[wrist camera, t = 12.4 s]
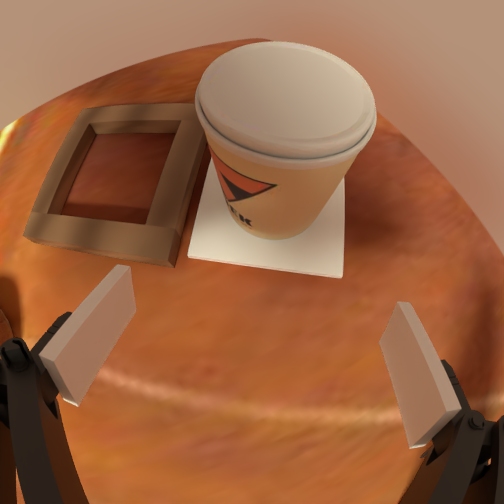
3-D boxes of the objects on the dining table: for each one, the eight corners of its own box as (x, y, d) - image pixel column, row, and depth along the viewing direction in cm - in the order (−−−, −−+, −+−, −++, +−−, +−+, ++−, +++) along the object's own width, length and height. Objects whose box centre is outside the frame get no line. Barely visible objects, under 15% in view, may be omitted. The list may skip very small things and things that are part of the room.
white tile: (188, 257, 22) (187, 255, 22) (218, 139, 26) (217, 135, 26) (340, 278, 22) (342, 276, 21) (341, 156, 26) (343, 152, 25)
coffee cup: (203, 170, 24) (176, 57, 13) (300, 142, 25) (323, 33, 14) (238, 268, 22) (225, 180, 10) (347, 229, 23) (415, 133, 11)
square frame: (34, 242, 23) (22, 235, 21) (88, 119, 28) (82, 108, 26) (174, 267, 22) (167, 260, 20) (214, 117, 27) (212, 104, 25)
